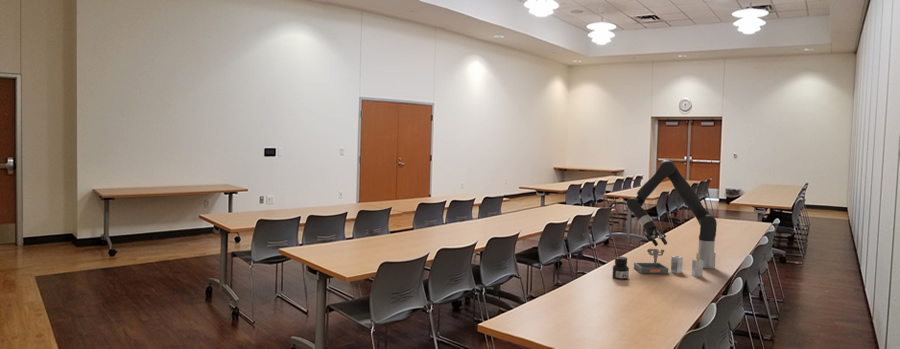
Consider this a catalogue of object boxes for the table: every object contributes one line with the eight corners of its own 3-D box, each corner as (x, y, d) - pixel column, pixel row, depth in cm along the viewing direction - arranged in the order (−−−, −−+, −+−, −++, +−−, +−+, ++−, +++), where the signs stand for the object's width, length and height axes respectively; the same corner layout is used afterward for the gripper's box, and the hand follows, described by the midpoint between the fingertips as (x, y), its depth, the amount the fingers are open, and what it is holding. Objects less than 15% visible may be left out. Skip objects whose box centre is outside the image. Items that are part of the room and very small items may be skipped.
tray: (659, 268, 353) (659, 262, 353) (668, 274, 339) (668, 268, 338) (633, 268, 353) (634, 262, 353) (641, 273, 339) (641, 268, 338)
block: (675, 270, 347) (676, 255, 346) (682, 272, 343) (682, 257, 343) (670, 271, 345) (671, 256, 344) (677, 273, 341) (677, 257, 340)
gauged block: (699, 274, 338) (700, 252, 337) (702, 276, 334) (703, 254, 333) (691, 274, 338) (692, 252, 337) (694, 276, 334) (696, 254, 333)
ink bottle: (617, 280, 322) (617, 259, 321) (608, 276, 331) (609, 256, 330) (632, 279, 325) (632, 259, 324) (623, 275, 333) (624, 255, 333)
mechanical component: (664, 265, 361) (664, 249, 361) (647, 265, 362) (648, 249, 361) (662, 264, 364) (663, 248, 364) (646, 264, 365) (647, 248, 364)
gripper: (643, 221, 356) (657, 242, 347) (658, 219, 363) (673, 240, 354) (636, 228, 361) (650, 249, 352) (651, 226, 368) (665, 247, 359)
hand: (661, 244), depth 353 cm, fingers open, 8 cm apart
